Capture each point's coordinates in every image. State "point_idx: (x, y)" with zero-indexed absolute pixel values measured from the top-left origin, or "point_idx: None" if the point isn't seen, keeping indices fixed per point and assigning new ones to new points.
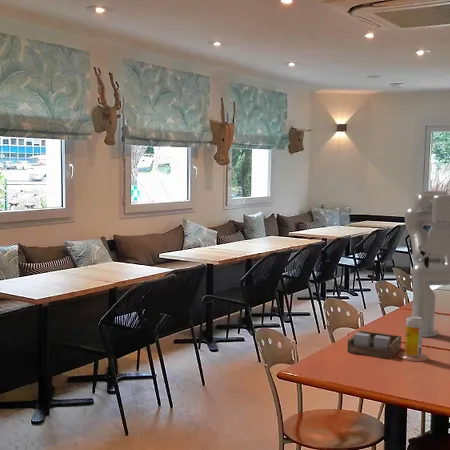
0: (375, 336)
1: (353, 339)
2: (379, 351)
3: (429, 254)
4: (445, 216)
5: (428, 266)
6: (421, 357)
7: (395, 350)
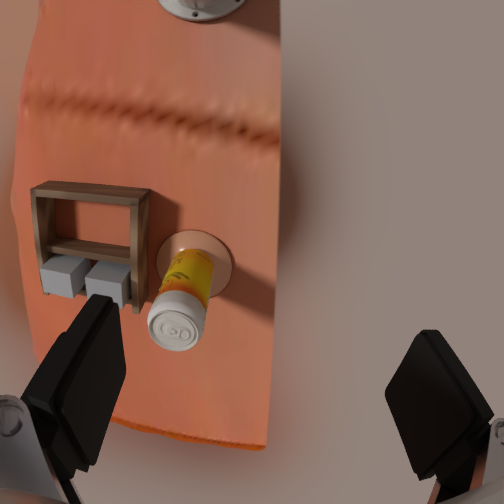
0: (88, 293)
1: None
2: None
3: (56, 482)
4: None
5: (116, 321)
6: (215, 274)
7: (145, 255)
